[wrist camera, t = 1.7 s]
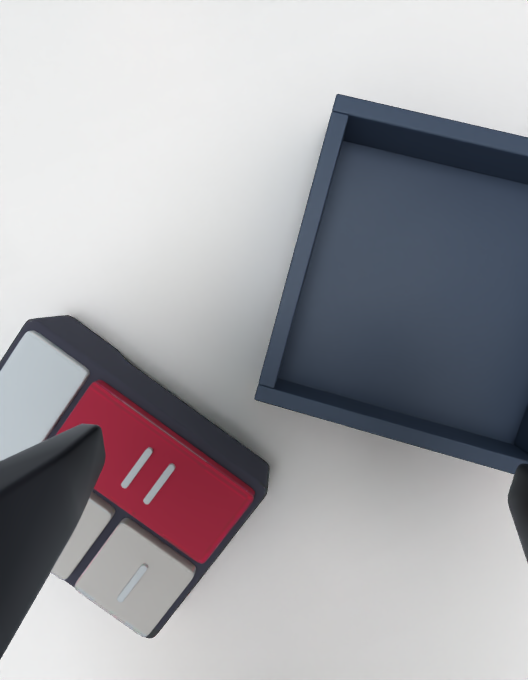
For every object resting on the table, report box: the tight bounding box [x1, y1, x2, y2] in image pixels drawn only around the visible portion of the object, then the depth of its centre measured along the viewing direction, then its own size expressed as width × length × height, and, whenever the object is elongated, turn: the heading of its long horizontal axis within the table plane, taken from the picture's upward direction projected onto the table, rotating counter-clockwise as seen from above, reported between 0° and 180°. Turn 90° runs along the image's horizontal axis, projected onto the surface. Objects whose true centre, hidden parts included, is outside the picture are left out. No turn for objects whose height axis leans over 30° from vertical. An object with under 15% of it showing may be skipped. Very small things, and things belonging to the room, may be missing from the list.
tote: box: [255, 94, 528, 474], centre depth 21 cm, size 15×15×4 cm
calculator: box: [0, 315, 269, 638], centre depth 23 cm, size 11×4×15 cm
